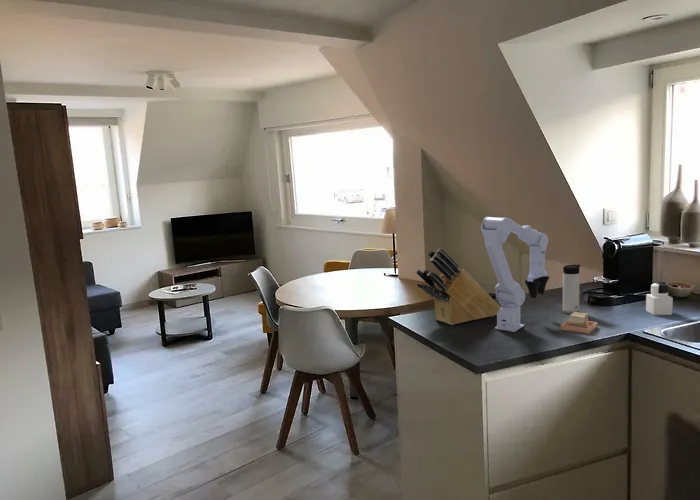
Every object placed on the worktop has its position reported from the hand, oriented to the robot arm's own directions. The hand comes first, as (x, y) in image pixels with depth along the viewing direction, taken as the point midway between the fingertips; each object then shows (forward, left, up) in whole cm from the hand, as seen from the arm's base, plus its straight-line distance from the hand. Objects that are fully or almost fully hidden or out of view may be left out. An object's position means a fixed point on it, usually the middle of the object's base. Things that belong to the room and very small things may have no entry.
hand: (537, 295), depth 217 cm
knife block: (-17, +26, -10) cm, 32 cm away
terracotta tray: (-5, -18, -9) cm, 21 cm away
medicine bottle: (+32, -37, -10) cm, 50 cm away
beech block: (-5, -18, -9) cm, 21 cm away
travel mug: (+16, -8, -10) cm, 20 cm away
